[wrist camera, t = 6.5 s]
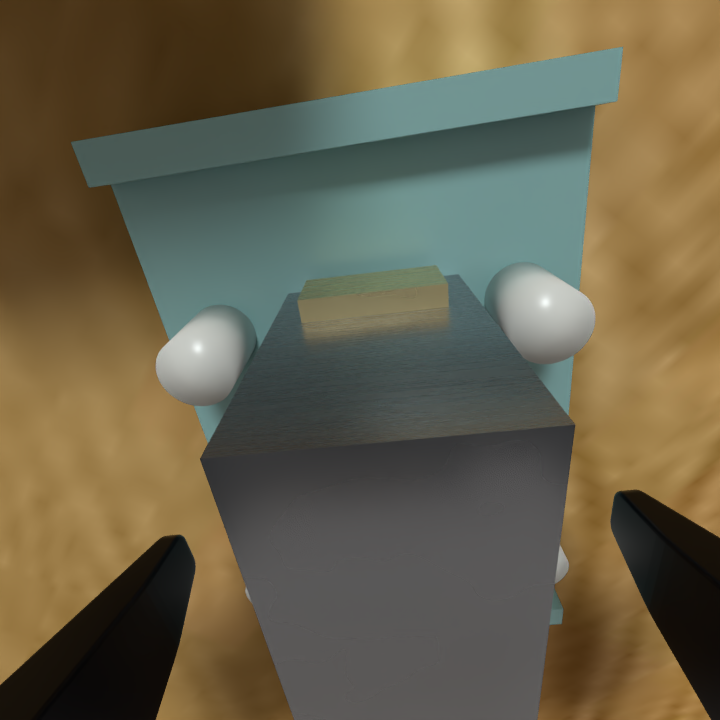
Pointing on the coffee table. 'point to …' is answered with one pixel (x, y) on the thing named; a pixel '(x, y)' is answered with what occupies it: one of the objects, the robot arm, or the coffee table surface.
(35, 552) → the coffee table surface
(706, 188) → the coffee table surface
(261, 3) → the coffee table surface
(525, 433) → the block
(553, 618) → the tray
